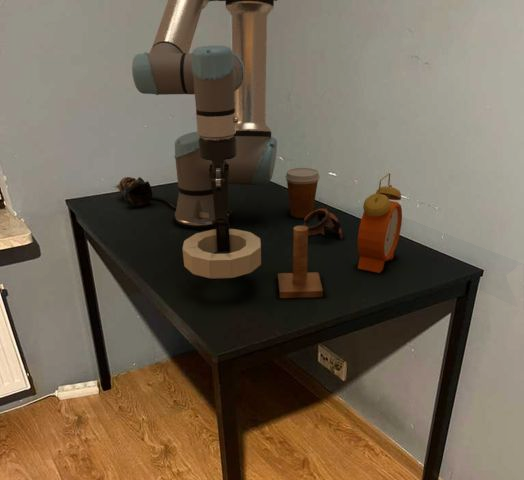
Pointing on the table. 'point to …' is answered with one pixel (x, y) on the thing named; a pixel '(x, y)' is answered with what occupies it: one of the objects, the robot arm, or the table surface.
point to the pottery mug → (322, 222)
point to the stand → (300, 271)
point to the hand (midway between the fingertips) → (224, 247)
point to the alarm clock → (379, 228)
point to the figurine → (135, 191)
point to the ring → (222, 265)
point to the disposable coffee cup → (302, 190)
